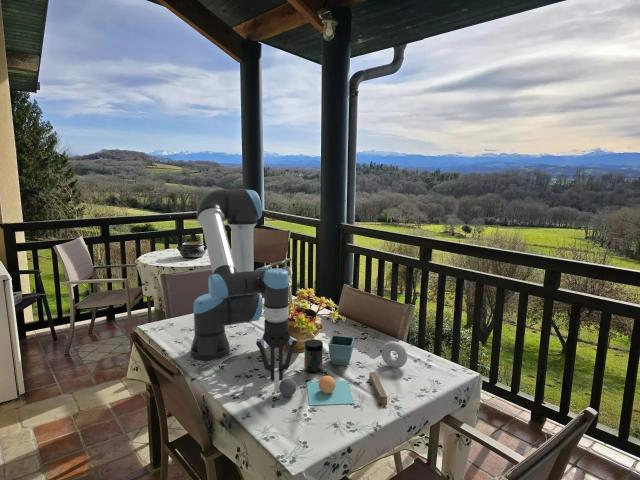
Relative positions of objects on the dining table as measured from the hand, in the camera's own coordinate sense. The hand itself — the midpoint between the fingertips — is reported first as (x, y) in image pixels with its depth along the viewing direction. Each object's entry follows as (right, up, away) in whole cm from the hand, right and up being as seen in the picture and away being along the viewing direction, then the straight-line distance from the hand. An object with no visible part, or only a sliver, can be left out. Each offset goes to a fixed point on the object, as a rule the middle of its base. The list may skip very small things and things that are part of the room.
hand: (276, 389), depth 125 cm
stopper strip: (+33, -2, +3) cm, 33 cm away
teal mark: (+17, -2, +2) cm, 17 cm away
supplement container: (+11, 0, +17) cm, 21 cm away
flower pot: (+22, +1, +23) cm, 32 cm away
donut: (+41, 0, +20) cm, 46 cm away
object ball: (+16, +1, +2) cm, 16 cm away
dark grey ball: (+4, +1, 0) cm, 4 cm away
